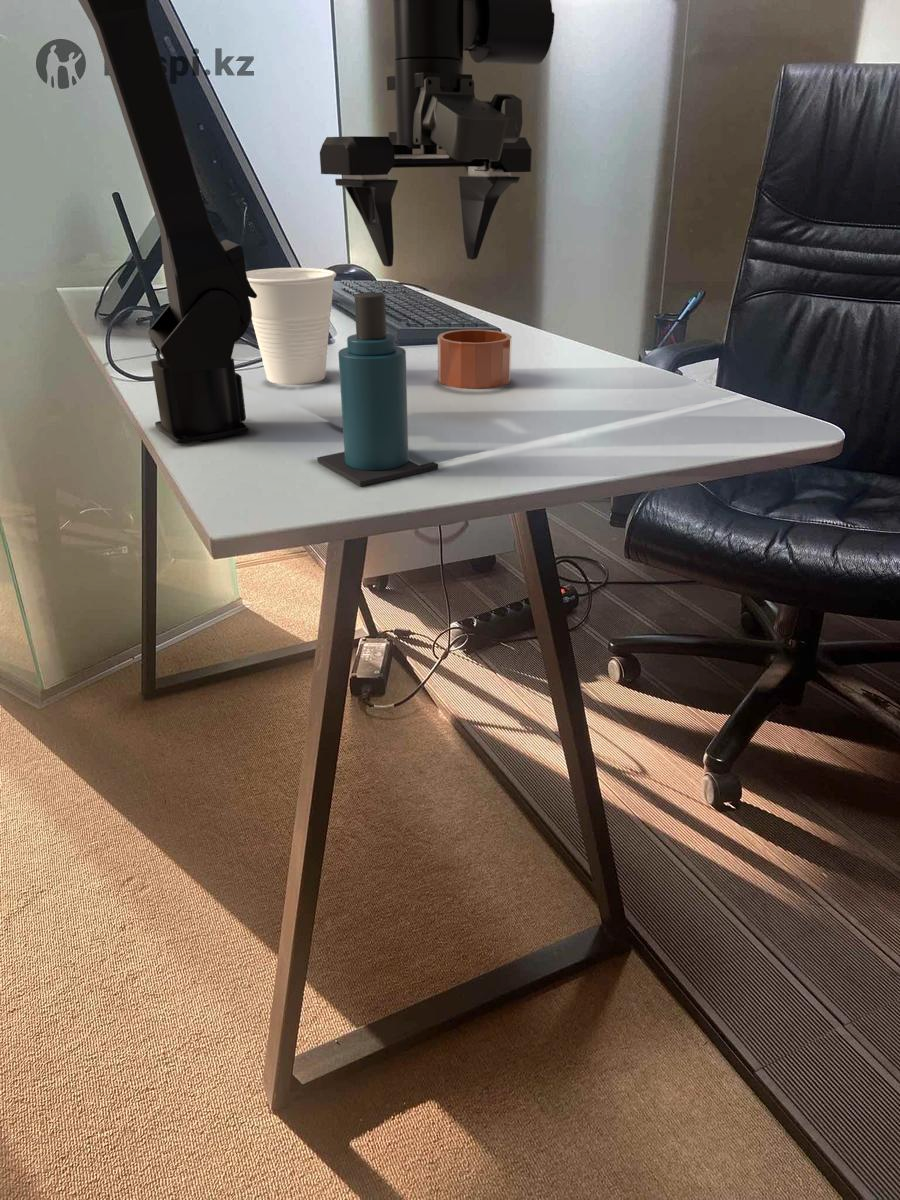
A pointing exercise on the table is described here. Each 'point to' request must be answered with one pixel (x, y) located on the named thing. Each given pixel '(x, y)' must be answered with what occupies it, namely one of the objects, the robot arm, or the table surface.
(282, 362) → the cup
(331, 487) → the table surface
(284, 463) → the table surface
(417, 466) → the coaster
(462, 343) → the holder
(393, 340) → the bottle
